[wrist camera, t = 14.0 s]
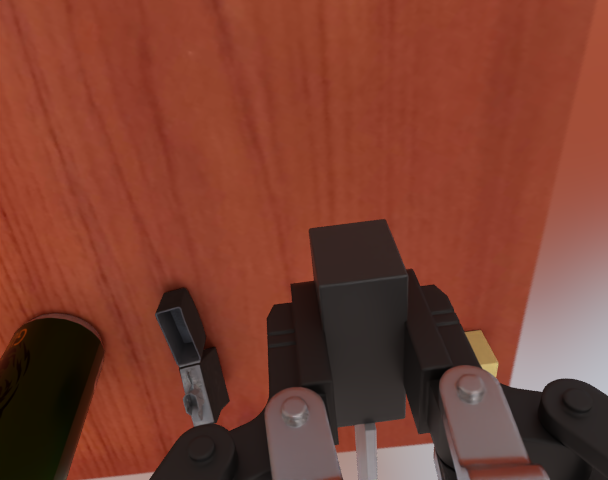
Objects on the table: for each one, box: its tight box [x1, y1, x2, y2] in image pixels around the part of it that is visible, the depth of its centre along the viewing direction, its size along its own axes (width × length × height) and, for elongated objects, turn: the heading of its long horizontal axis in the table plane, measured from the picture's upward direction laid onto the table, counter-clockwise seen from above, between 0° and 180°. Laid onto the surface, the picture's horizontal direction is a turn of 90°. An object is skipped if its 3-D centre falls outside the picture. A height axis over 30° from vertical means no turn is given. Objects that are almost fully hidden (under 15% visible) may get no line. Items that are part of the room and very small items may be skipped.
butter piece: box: [465, 330, 498, 378], centre depth 35 cm, size 2×4×3 cm
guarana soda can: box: [0, 313, 105, 480], centre depth 27 cm, size 5×5×12 cm
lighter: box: [155, 288, 230, 427], centre depth 31 cm, size 8×2×5 cm
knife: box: [309, 219, 408, 480], centre depth 16 cm, size 14×2×3 cm, turn 6°
